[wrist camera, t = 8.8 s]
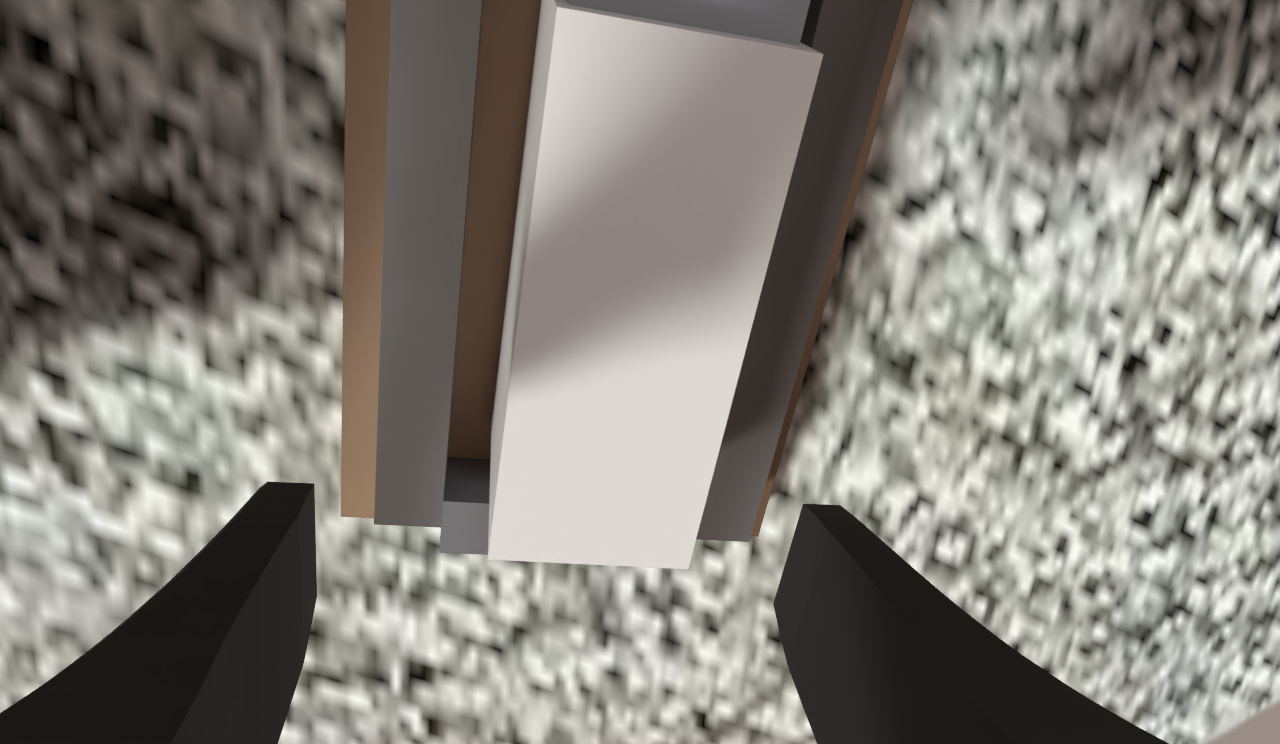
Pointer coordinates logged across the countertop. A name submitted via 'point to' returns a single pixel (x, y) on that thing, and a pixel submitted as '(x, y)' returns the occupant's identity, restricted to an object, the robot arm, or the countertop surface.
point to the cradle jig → (482, 244)
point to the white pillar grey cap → (638, 267)
